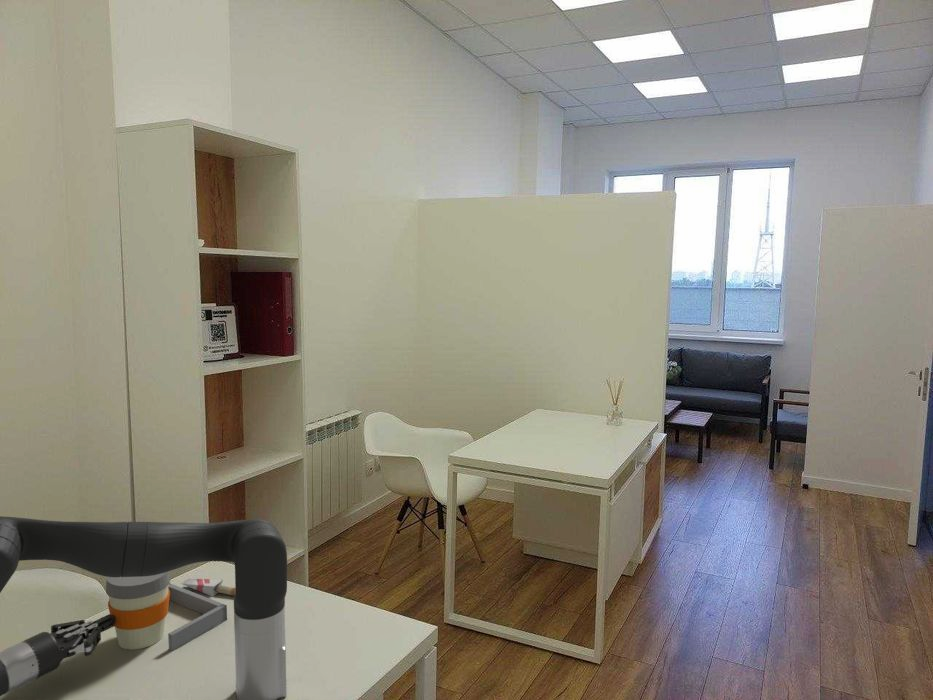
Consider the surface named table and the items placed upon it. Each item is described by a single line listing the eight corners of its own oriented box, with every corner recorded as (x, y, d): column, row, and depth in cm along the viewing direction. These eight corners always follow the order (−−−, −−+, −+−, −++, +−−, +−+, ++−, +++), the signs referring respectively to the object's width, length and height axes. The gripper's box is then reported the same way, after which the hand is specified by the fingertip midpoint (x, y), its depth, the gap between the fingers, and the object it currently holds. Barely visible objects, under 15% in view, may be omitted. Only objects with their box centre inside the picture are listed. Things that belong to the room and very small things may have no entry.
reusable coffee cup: (167, 616, 154) (164, 554, 152) (177, 642, 144) (175, 577, 142) (105, 632, 147) (101, 568, 145) (112, 661, 137) (108, 592, 135)
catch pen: (172, 650, 141) (171, 635, 141) (113, 623, 151) (112, 608, 151) (227, 619, 154) (226, 605, 153) (168, 596, 163) (168, 582, 163)
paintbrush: (189, 572, 170) (259, 587, 165) (189, 582, 170) (259, 597, 165) (179, 578, 166) (250, 594, 161) (179, 589, 166) (250, 605, 161)
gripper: (44, 654, 121) (132, 611, 136) (4, 633, 127) (92, 594, 142) (46, 692, 122) (133, 645, 137) (7, 669, 128) (94, 627, 143)
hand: (112, 619), depth 140 cm, fingers closed
